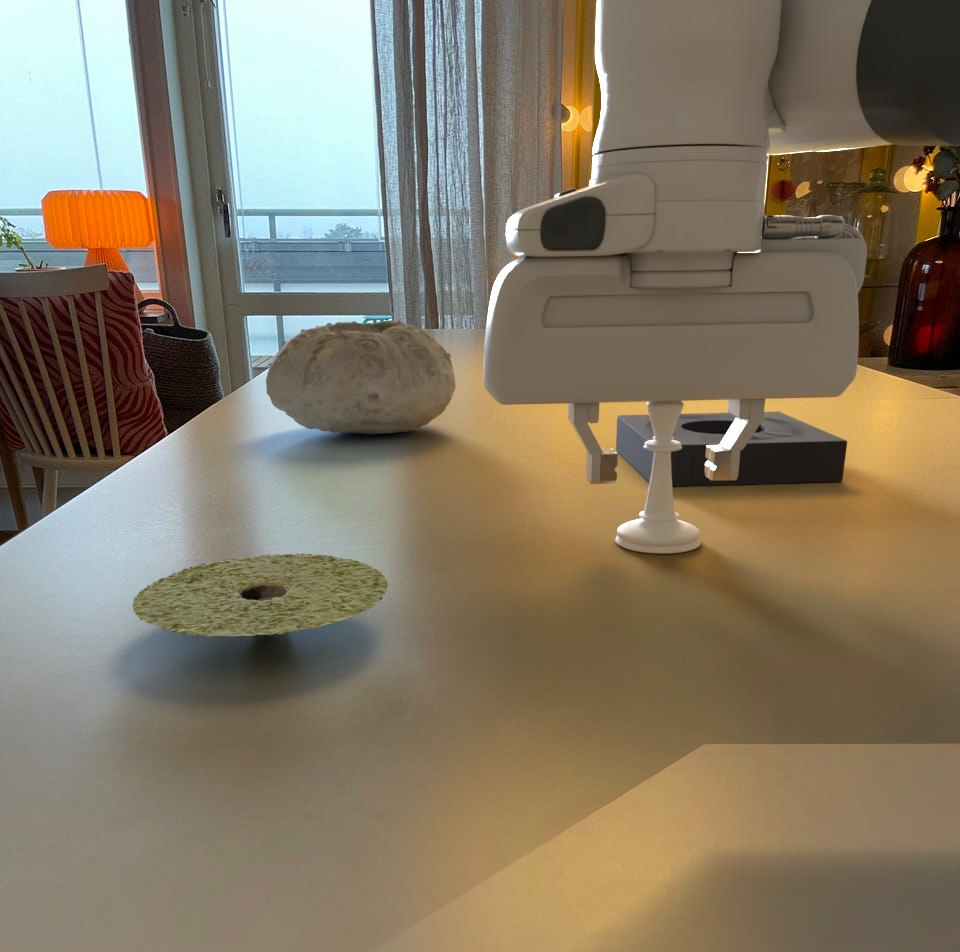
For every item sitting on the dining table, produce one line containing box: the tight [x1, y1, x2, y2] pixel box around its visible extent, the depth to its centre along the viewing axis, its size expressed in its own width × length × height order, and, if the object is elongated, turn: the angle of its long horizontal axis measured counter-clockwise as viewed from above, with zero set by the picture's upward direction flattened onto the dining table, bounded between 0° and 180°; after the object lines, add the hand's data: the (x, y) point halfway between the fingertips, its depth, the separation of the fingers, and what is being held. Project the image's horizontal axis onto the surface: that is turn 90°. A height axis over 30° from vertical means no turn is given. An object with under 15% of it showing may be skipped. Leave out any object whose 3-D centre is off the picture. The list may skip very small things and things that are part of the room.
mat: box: [132, 553, 389, 638], centre depth 44 cm, size 11×11×2 cm
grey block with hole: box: [615, 411, 848, 488], centre depth 76 cm, size 14×14×3 cm
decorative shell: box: [265, 320, 456, 435], centre depth 92 cm, size 18×18×10 cm
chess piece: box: [614, 401, 702, 555], centre depth 55 cm, size 5×5×10 cm
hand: (661, 480), depth 55 cm, fingers open, 5 cm apart
